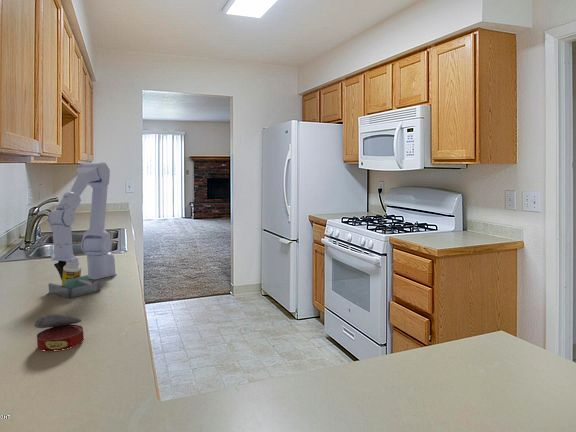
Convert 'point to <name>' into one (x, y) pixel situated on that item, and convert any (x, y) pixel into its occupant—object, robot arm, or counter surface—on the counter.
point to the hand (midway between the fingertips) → (66, 282)
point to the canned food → (58, 332)
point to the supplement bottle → (71, 271)
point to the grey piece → (74, 289)
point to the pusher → (77, 281)
